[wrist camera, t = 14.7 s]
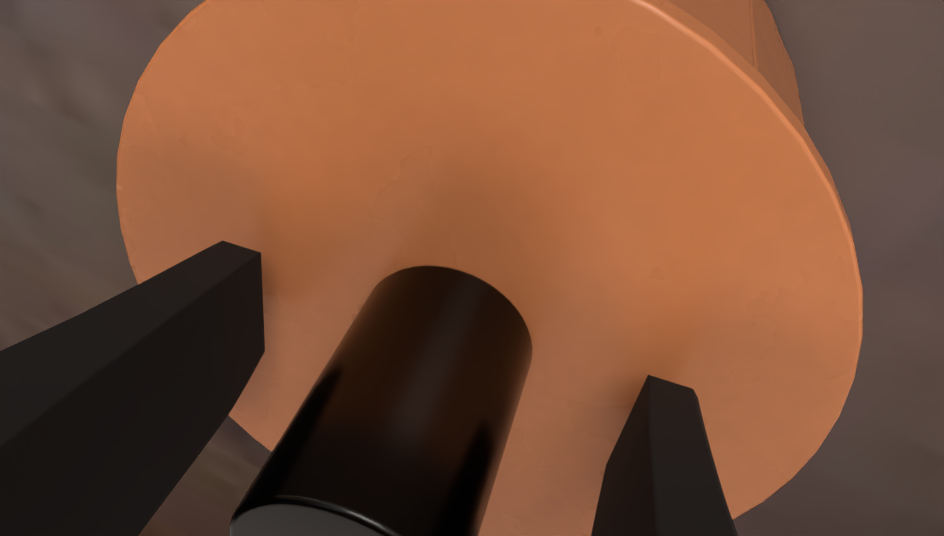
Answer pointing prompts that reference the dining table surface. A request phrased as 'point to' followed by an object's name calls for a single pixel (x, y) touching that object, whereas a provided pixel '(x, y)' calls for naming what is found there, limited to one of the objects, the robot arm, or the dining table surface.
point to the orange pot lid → (494, 251)
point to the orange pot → (751, 40)
